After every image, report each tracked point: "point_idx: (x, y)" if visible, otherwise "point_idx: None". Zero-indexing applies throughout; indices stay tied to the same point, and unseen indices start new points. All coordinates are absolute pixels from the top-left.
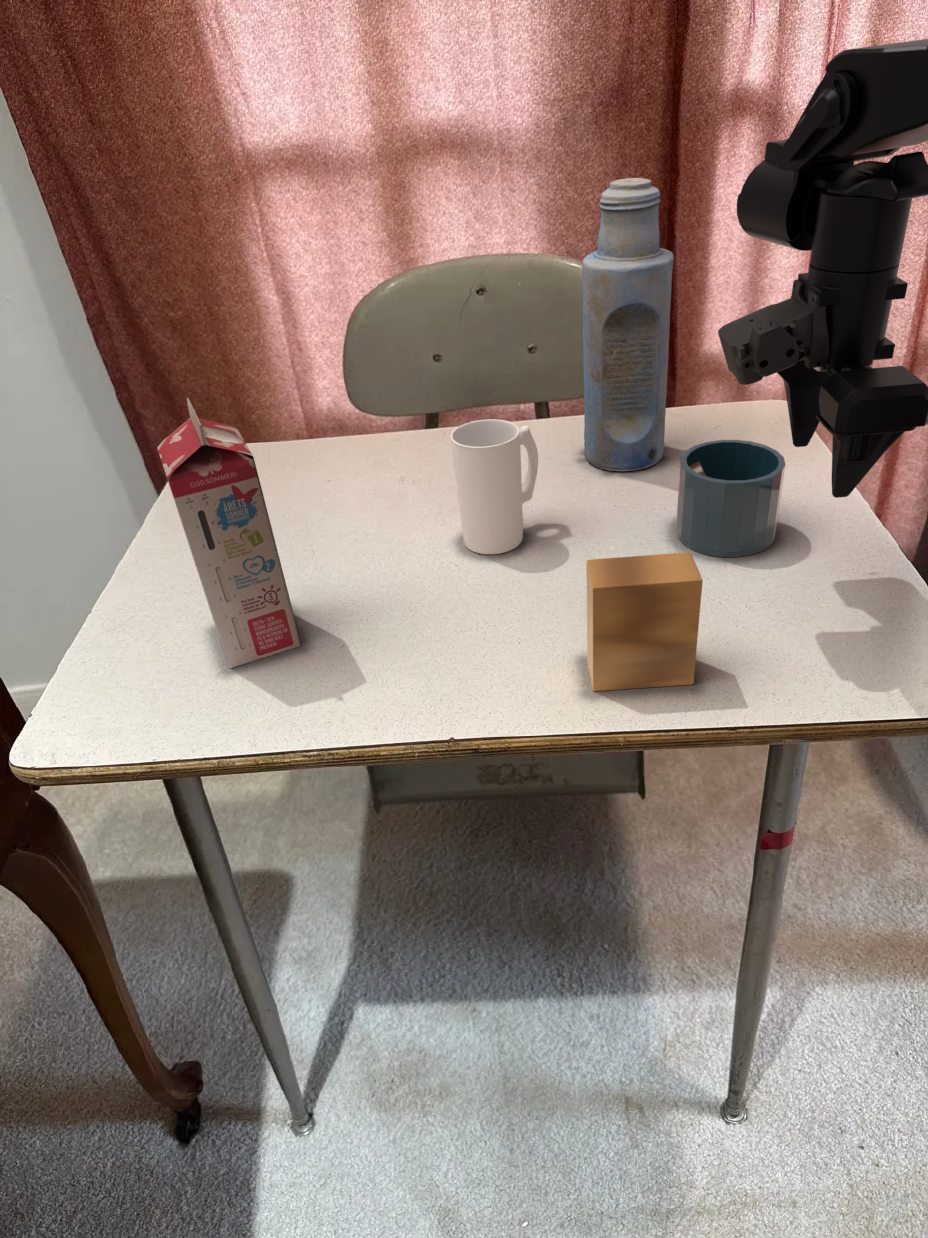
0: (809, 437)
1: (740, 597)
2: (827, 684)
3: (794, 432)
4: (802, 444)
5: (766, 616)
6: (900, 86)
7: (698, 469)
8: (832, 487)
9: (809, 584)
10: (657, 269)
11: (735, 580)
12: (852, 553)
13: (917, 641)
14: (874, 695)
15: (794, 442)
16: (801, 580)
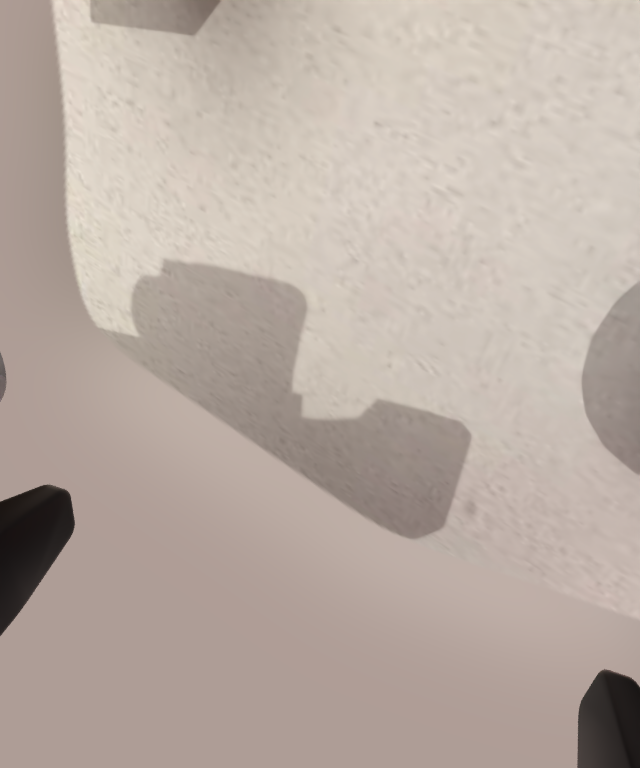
0: (582, 760)
1: (498, 194)
2: (153, 228)
3: (623, 753)
4: (586, 700)
5: (394, 221)
6: None
7: None
8: (23, 506)
9: (484, 381)
10: None
11: (587, 219)
12: (562, 525)
13: (248, 437)
14: (123, 290)
15: (613, 689)
16: (507, 374)
